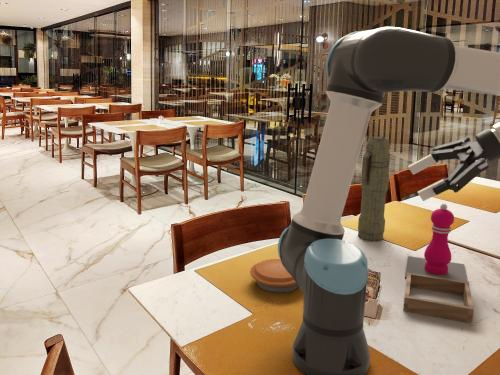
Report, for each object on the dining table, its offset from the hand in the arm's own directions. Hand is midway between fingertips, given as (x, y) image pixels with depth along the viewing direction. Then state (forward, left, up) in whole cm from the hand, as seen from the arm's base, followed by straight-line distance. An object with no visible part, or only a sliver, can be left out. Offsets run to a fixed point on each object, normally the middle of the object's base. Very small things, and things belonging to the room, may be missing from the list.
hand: (414, 182), depth 115 cm
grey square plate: (+11, -8, -28) cm, 31 cm away
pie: (-13, +32, -29) cm, 45 cm away
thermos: (+33, +13, -28) cm, 46 cm away
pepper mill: (+11, -8, -28) cm, 31 cm away
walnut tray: (-8, -8, -28) cm, 30 cm away
